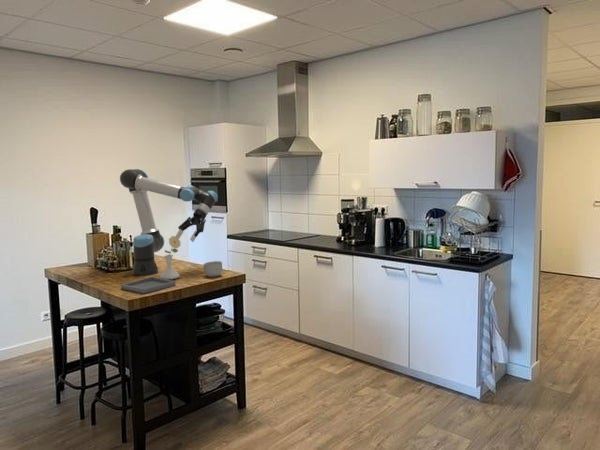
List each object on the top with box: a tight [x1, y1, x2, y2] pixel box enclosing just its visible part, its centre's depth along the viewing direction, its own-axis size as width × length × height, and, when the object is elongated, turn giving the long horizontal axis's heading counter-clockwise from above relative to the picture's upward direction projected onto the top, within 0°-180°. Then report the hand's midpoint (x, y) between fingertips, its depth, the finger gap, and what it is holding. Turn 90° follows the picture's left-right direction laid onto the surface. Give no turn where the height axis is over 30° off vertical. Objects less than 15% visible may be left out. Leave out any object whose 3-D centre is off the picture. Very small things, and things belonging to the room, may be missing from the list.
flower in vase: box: [159, 235, 182, 281], centre depth 267 cm, size 13×11×25 cm
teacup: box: [203, 260, 223, 278], centre depth 274 cm, size 14×11×8 cm
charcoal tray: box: [120, 276, 176, 295], centre depth 249 cm, size 20×20×2 cm
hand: (183, 239), depth 274 cm, fingers open, 13 cm apart
